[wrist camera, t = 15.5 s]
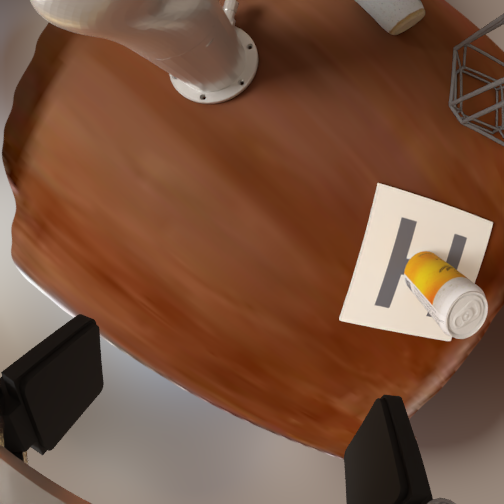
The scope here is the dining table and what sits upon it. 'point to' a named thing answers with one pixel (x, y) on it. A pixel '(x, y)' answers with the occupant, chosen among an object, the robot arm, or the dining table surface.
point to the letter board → (400, 252)
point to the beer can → (446, 295)
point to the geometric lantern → (453, 89)
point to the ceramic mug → (394, 13)
